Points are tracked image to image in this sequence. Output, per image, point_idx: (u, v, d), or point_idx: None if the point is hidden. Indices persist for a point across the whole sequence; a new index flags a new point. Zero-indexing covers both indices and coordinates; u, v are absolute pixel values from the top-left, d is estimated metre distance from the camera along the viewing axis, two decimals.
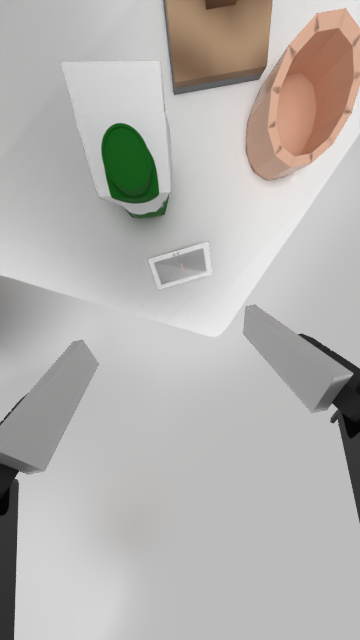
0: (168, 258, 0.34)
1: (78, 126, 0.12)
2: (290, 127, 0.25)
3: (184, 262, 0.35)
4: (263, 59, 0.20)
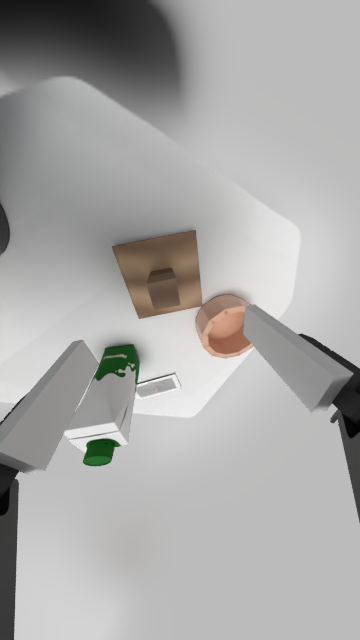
0: (144, 384, 0.43)
1: None
2: (227, 321, 0.34)
3: (157, 385, 0.44)
4: (199, 303, 0.30)
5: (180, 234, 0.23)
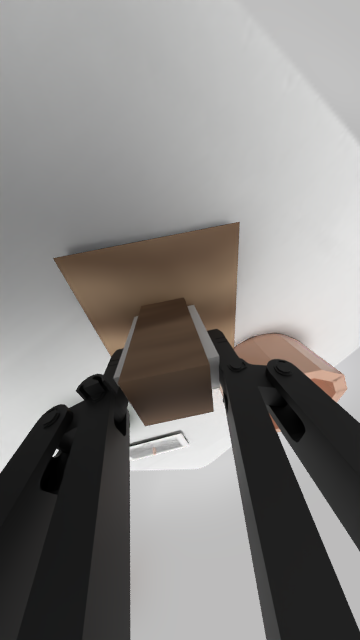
0: (138, 446, 0.31)
1: None
2: None
3: (156, 446, 0.32)
4: None
5: (206, 231, 0.10)
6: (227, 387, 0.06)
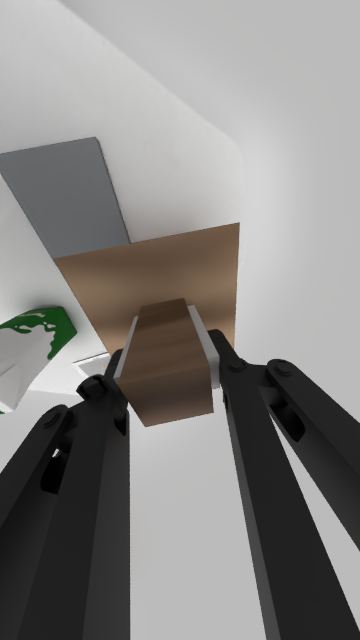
0: (89, 361, 0.38)
1: None
2: None
3: (105, 362, 0.39)
4: None
5: (206, 231, 0.10)
6: (227, 387, 0.06)
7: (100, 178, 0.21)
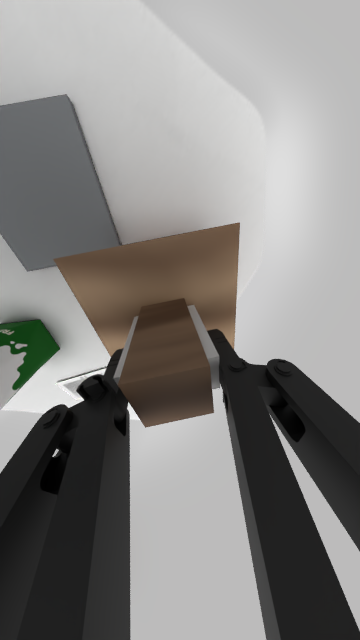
0: (76, 380, 0.33)
1: None
2: None
3: None
4: None
5: (206, 232, 0.10)
6: (227, 387, 0.06)
7: (76, 155, 0.15)
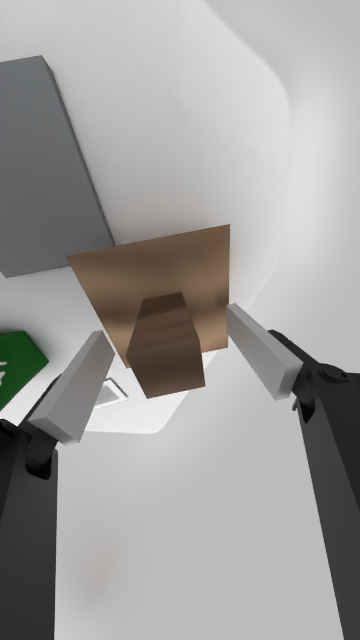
0: None
1: None
2: None
3: None
4: (223, 344, 0.19)
5: (200, 232, 0.12)
6: (319, 395, 0.05)
7: (58, 137, 0.12)
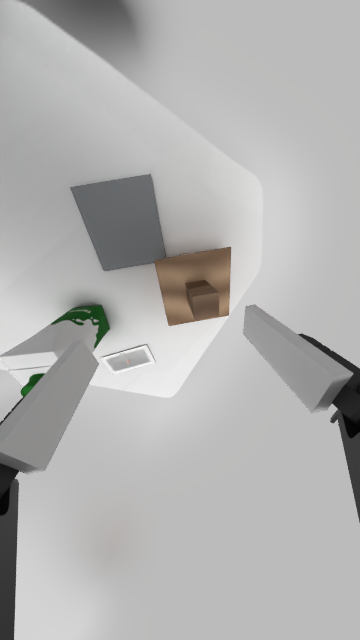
0: (116, 356, 0.43)
1: (11, 373, 0.21)
2: None
3: (130, 357, 0.44)
4: (226, 313, 0.32)
5: (217, 250, 0.25)
6: None
7: (149, 204, 0.26)
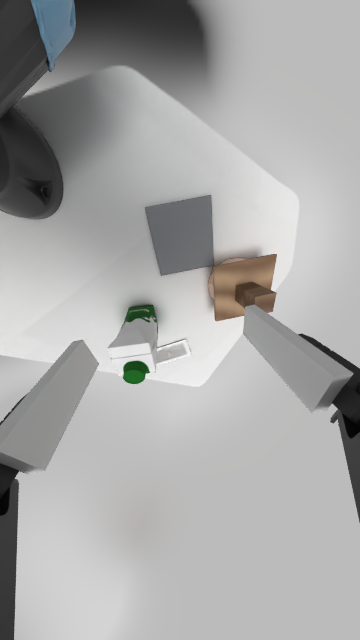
0: (158, 350, 0.49)
1: (112, 361, 0.26)
2: None
3: (170, 351, 0.50)
4: None
5: (265, 257, 0.30)
6: None
7: (206, 218, 0.31)
